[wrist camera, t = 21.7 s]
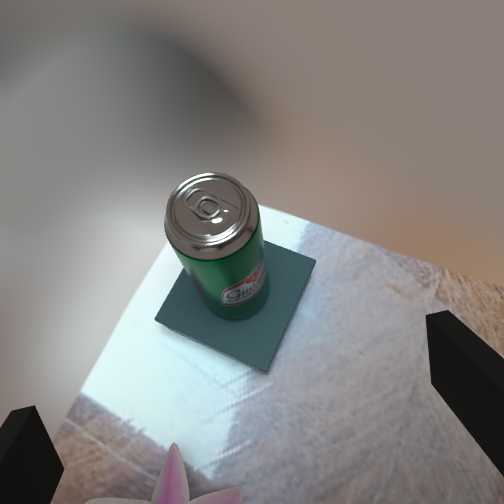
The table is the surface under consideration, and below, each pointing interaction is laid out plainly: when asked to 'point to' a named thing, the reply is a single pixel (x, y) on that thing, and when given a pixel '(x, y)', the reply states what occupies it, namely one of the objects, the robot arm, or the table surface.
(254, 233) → the soda can
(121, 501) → the lily
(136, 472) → the table surface
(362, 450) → the table surface
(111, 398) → the table surface
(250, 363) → the square coaster
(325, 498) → the table surface
